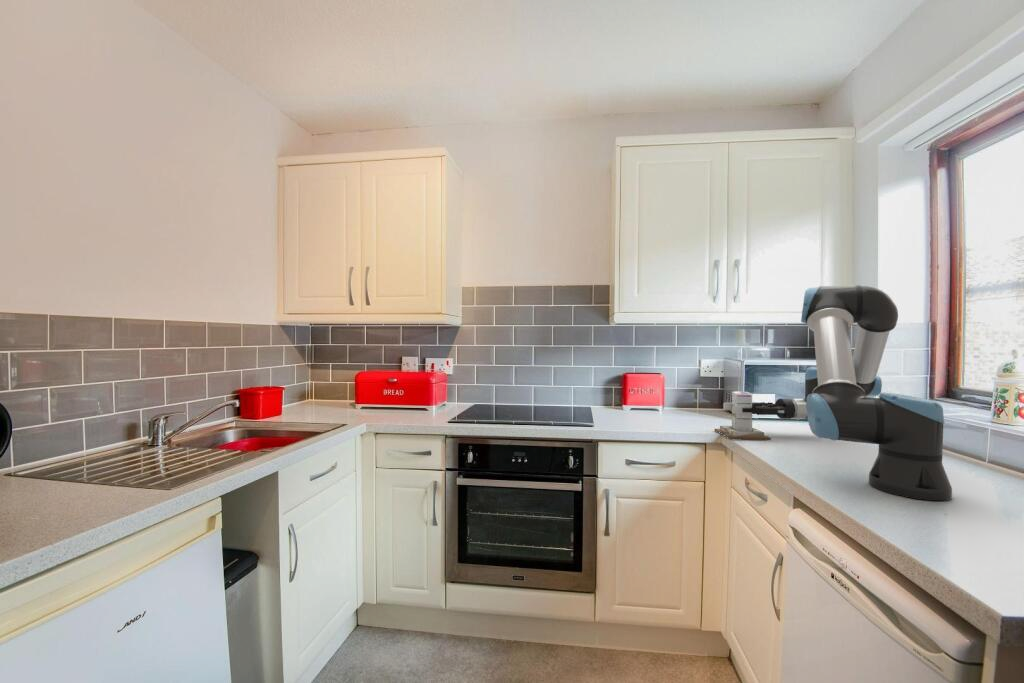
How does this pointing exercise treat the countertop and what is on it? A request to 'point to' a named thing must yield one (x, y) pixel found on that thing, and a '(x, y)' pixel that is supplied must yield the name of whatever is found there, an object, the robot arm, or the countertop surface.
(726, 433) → the board
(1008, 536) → the countertop surface
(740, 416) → the syrup box
